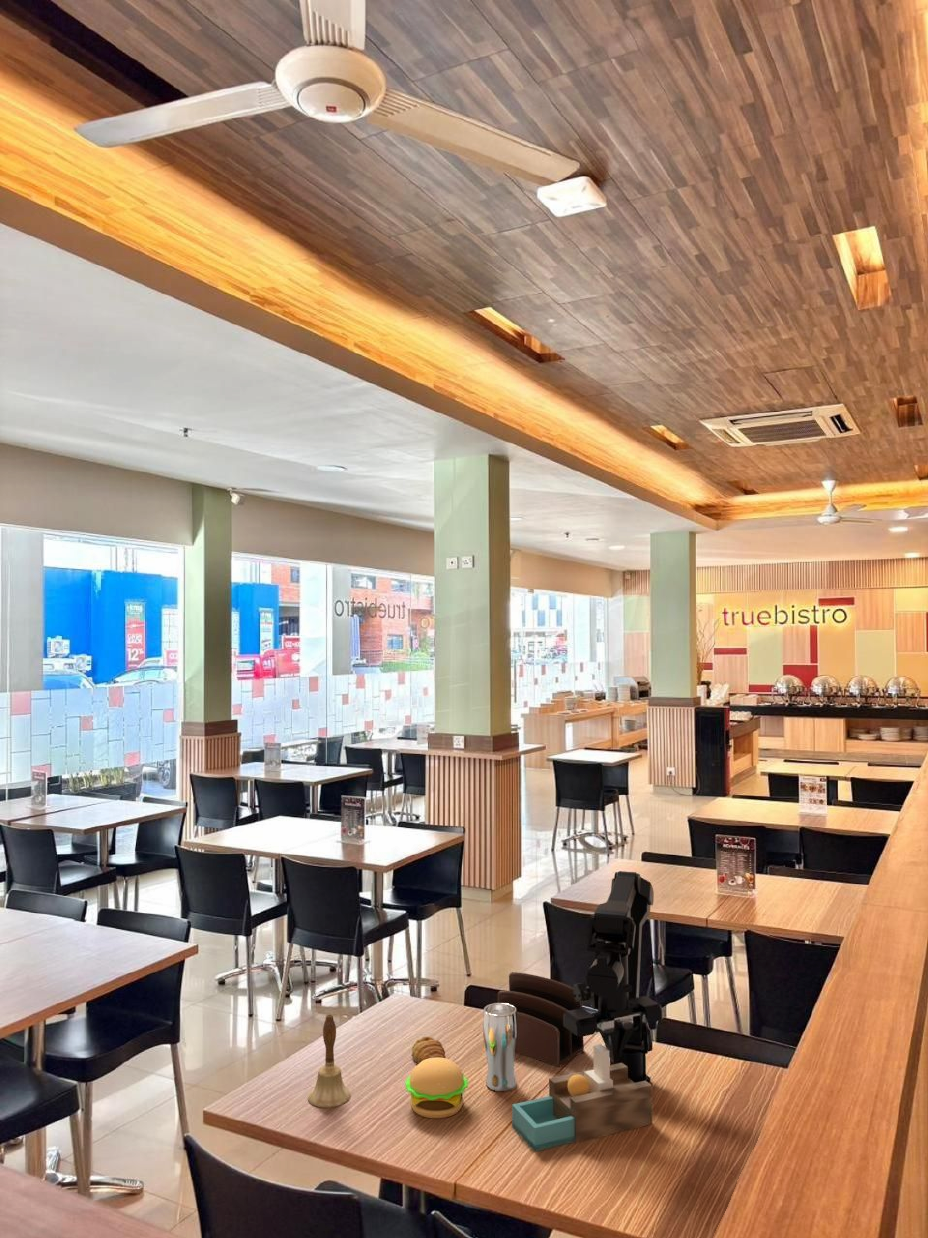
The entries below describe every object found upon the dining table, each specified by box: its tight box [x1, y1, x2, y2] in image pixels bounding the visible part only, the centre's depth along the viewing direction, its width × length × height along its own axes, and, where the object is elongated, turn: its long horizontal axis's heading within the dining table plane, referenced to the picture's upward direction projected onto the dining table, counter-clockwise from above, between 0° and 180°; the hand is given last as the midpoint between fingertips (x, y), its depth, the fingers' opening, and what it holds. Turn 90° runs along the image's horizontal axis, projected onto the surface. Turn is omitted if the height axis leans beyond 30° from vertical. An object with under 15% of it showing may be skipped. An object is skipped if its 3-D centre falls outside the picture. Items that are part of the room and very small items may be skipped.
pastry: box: [411, 1036, 446, 1065], centre depth 193 cm, size 9×7×4 cm
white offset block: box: [584, 1043, 613, 1093], centre depth 169 cm, size 3×5×8 cm, turn 23°
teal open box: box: [511, 1095, 576, 1152], centre depth 164 cm, size 8×9×4 cm
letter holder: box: [497, 971, 585, 1068], centre depth 200 cm, size 10×20×14 cm, turn 50°
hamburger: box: [405, 1057, 469, 1119], centre depth 174 cm, size 12×12×9 cm
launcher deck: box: [548, 1063, 653, 1144], centre depth 169 cm, size 16×10×7 cm, turn 113°
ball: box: [568, 1074, 589, 1097], centre depth 167 cm, size 4×4×4 cm
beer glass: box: [482, 1002, 518, 1092], centre depth 183 cm, size 7×7×15 cm
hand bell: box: [307, 1014, 352, 1109], centre depth 178 cm, size 8×8×16 cm
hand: (614, 1062), depth 170 cm, fingers closed
